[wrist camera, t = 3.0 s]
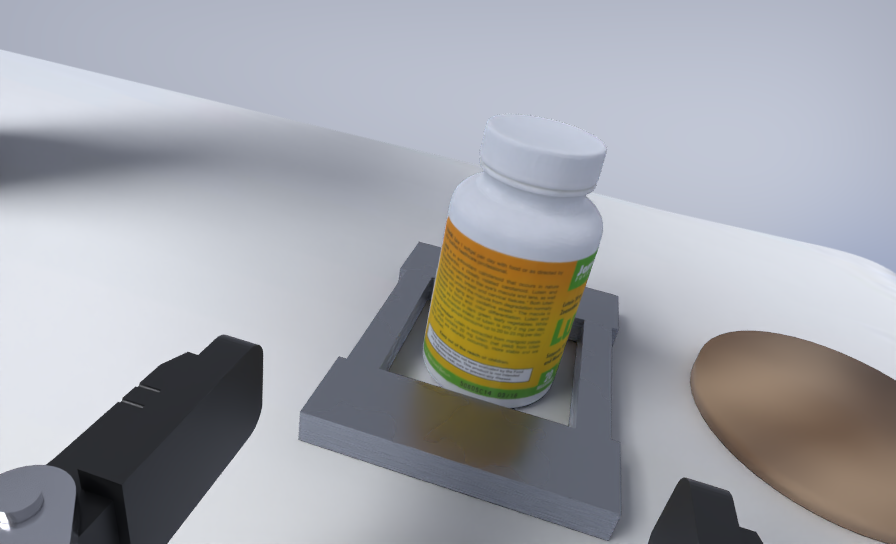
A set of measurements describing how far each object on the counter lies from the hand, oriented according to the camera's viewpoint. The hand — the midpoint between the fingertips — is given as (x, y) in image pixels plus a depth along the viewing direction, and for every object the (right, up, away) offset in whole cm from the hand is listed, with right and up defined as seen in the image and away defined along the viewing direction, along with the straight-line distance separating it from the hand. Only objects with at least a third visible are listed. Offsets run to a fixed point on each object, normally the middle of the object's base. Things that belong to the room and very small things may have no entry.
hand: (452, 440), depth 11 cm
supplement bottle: (+1, -1, +13) cm, 13 cm away
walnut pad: (+15, -3, +13) cm, 20 cm away
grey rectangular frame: (+1, -1, +13) cm, 13 cm away
